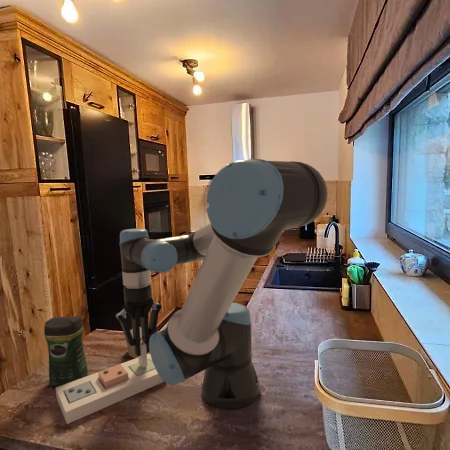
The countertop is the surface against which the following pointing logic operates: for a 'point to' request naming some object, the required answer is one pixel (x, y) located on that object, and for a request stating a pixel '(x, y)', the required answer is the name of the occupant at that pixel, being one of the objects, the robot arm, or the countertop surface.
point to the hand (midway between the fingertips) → (143, 364)
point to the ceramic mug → (131, 348)
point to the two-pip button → (112, 376)
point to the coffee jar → (65, 350)
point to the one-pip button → (139, 370)
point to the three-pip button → (79, 392)
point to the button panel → (105, 392)
